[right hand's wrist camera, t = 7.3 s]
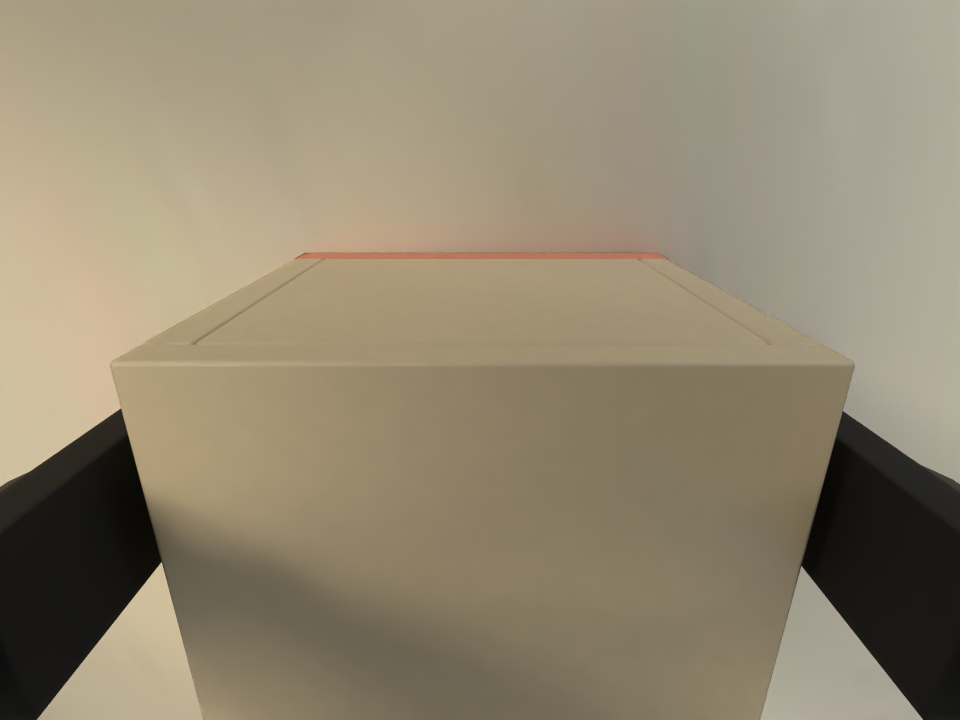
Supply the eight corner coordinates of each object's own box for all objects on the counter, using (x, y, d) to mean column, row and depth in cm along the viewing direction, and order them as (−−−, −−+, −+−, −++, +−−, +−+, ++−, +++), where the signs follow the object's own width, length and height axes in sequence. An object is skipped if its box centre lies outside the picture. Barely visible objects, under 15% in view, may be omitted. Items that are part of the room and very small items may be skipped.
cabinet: (606, 687, 23) (683, 1011, 14) (354, 687, 23) (278, 1011, 14) (657, 252, 16) (860, 360, 8) (304, 253, 16) (104, 360, 8)
